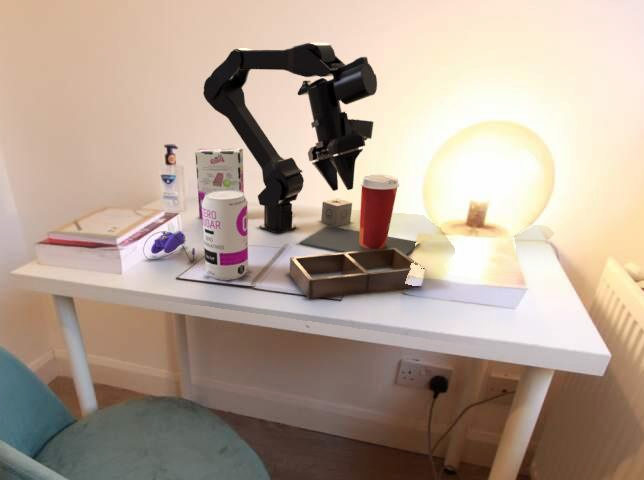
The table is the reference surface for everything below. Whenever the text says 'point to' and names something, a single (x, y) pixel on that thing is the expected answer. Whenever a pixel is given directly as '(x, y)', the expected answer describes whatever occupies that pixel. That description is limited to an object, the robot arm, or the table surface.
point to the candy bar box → (218, 171)
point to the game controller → (168, 243)
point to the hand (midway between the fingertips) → (342, 189)
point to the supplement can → (225, 234)
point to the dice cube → (336, 212)
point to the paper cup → (376, 209)
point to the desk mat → (350, 241)
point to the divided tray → (351, 272)
